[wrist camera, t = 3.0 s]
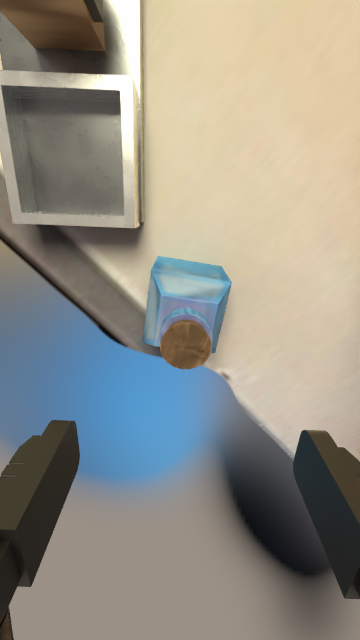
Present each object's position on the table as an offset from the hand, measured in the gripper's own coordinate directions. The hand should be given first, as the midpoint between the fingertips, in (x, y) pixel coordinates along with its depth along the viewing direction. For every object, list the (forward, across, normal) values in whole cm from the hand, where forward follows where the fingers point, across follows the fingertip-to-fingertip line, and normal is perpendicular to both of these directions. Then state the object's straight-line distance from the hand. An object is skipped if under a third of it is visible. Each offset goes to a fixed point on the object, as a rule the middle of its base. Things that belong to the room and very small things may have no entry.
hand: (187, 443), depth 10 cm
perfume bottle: (+20, 0, 0) cm, 20 cm away
